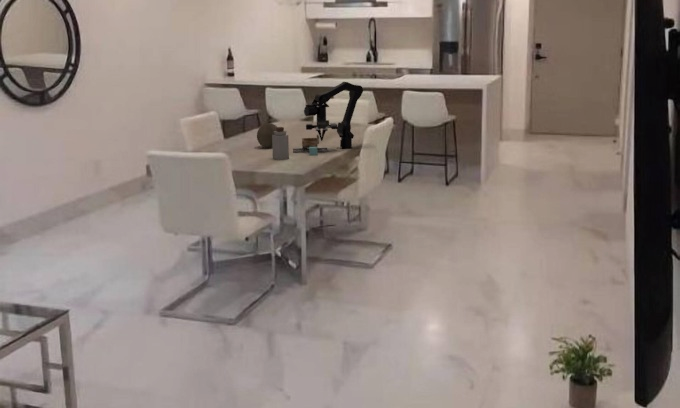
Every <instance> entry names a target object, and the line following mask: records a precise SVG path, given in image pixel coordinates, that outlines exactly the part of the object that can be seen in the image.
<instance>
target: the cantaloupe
mask: <svg viewBox="0 0 680 408" xmlns="http://www.w3.org/2000/svg"><path fill="white" fill-rule="evenodd" d="M276 127H278V126H277V125H276V124H273V123H263V124H261V125H260V126H259V128H258V129H257V131H256V140H257V141H258V144H259V145H260V146H261V147H263V148H266V149H270V148H272V135H275V134H274V131H276Z"/></svg>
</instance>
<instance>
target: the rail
mask: <svg viewBox="0 0 680 408" xmlns="http://www.w3.org/2000/svg"><path fill="white" fill-rule="evenodd" d="M328 152H329V150H328V147H317V153H328ZM292 153H295V154H301V153H308V154H310V152H309V148H307V150H303V148H297V147H295V148H292Z"/></svg>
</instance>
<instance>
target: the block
mask: <svg viewBox="0 0 680 408" xmlns="http://www.w3.org/2000/svg"><path fill="white" fill-rule="evenodd" d="M317 148H318V146H317V147H309V152H310V153H309V152H308V153H309V156H315V157H316V156H318V152H317Z"/></svg>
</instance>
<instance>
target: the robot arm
mask: <svg viewBox="0 0 680 408" xmlns="http://www.w3.org/2000/svg"><path fill="white" fill-rule="evenodd" d="M345 90H346V91H348V97H349V99H348V101H347V102H348V103H347V106H346V107H345V108H346V110H345V112H344V116H343V118H342V121H341V122H338V123H335V122H334V123H330V120H329V119H328V120H327V108H330V105H329V104H328V102H329V101H330V100H331V98H333V97H334V96H337V95H338V94H340V93H341V92H343V91H345ZM363 92H364V89H363V86H362V85H359V84H353V83H350V82H348V81H342V82H341V83H338V85H336V86H334V87H332V88H330V89H328V90H327V91H322V92H319V93H317V94H315V96H314V99H313V101H312V102H311V103H310V104H305V107H304V110H303V113H304V116H305V117H313V116H316V124H313V123H306V124H305V129H306V130H307V131H310V130H312V129H314V130H315V131H316V132H317V134H318V135H319V140H320V141H321V142H323V139H324V137H325V135H326V132H327V131H328V130H329V129H331V130H336V133H337V134H338V135H339V138H341V139H340V140H339V143H340V149H353V146H352V145H353V143H352V141H353V140H352V139H354V137H355V135H354V134H353V132H351V129H352V126H351V122H352V120H353V119H352V118H353V116H354V111H355V109H356V106H357V102H358V100H359V99H361V97H362V95H363ZM321 129H322V130H321ZM321 131H322V132H321Z"/></svg>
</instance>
